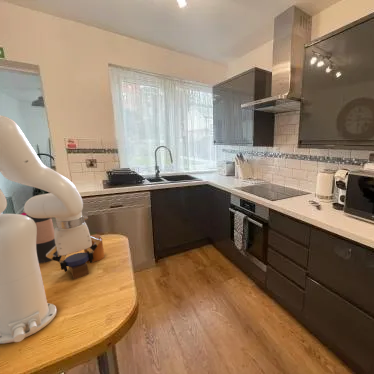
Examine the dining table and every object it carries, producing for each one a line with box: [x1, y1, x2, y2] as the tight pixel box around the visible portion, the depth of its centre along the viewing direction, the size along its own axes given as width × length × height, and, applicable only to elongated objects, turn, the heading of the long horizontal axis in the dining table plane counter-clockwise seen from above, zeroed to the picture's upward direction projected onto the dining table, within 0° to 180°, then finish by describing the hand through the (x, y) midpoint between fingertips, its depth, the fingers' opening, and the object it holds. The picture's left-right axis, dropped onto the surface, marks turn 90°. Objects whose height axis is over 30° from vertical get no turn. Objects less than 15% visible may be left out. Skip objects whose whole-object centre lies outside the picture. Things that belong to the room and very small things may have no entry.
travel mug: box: [25, 215, 59, 264], centre depth 89 cm, size 8×8×20 cm
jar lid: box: [64, 251, 89, 268], centre depth 82 cm, size 7×7×2 cm
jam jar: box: [83, 233, 105, 263], centre depth 92 cm, size 7×7×10 cm
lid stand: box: [68, 262, 90, 280], centre depth 82 cm, size 9×4×4 cm, turn 48°
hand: (78, 265), depth 83 cm, fingers closed on jar lid, 7 cm apart
